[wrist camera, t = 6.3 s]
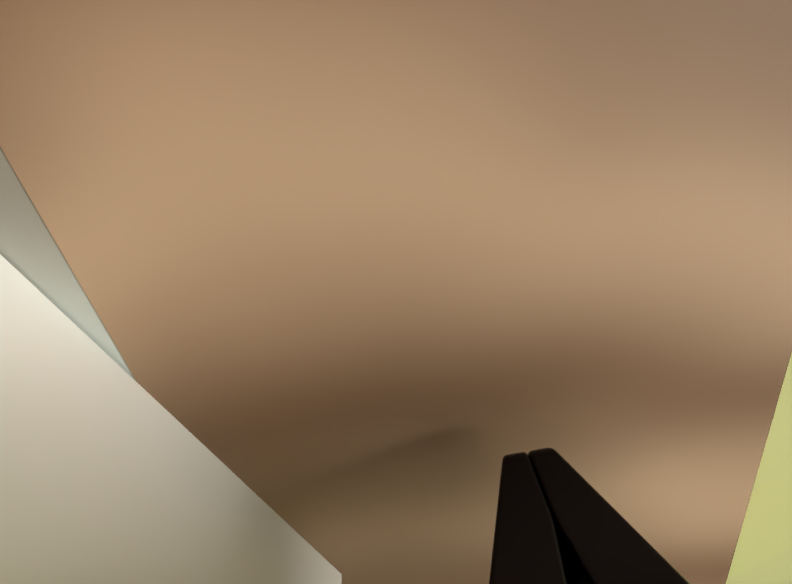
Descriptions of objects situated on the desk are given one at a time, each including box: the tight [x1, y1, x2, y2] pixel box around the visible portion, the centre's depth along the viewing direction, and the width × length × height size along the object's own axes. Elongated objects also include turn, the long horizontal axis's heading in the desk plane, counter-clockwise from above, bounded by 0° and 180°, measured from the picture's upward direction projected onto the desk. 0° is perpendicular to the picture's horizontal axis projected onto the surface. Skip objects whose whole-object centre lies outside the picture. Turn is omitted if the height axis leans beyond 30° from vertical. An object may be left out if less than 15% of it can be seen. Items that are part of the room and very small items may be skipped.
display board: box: [0, 0, 792, 584], centre depth 9 cm, size 16×22×5 cm
